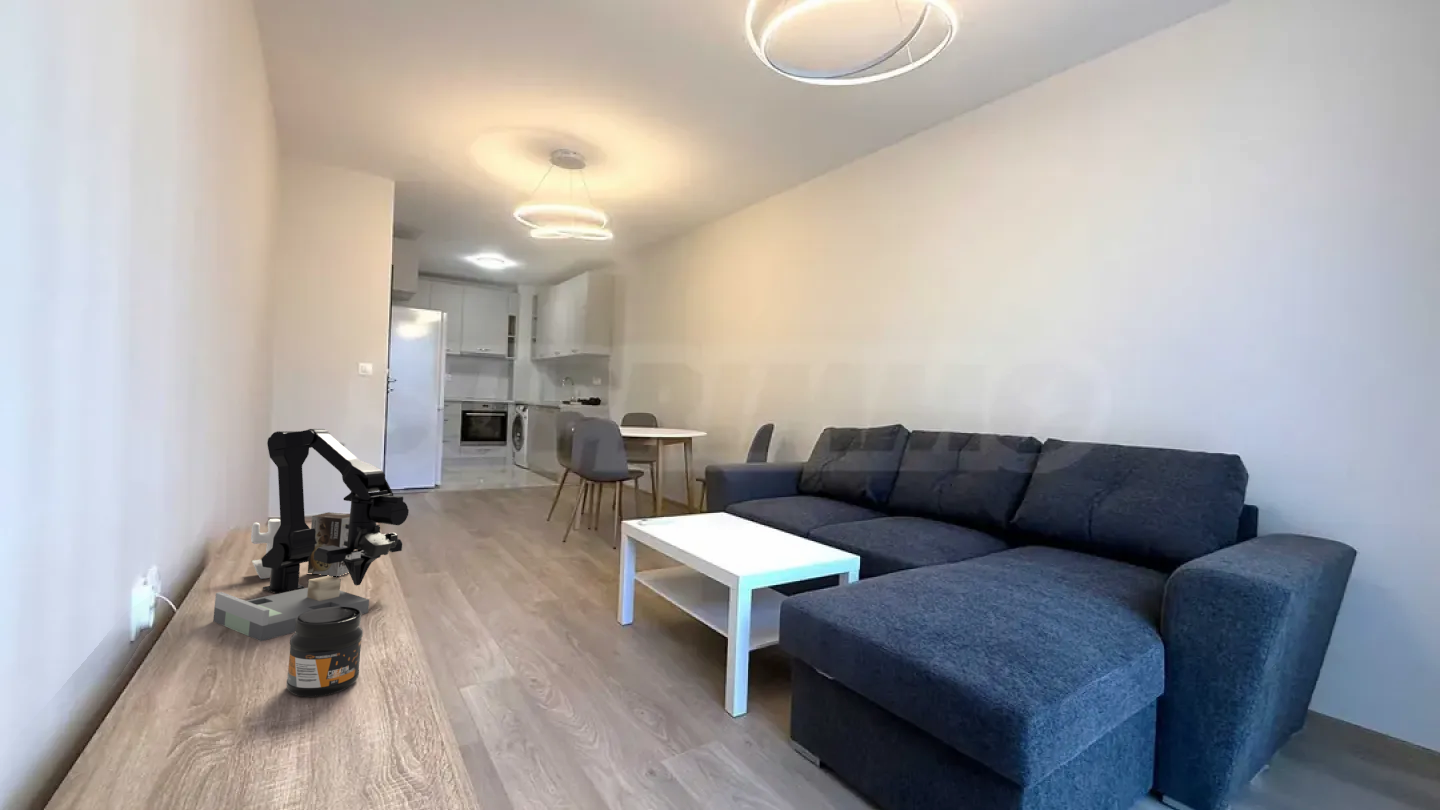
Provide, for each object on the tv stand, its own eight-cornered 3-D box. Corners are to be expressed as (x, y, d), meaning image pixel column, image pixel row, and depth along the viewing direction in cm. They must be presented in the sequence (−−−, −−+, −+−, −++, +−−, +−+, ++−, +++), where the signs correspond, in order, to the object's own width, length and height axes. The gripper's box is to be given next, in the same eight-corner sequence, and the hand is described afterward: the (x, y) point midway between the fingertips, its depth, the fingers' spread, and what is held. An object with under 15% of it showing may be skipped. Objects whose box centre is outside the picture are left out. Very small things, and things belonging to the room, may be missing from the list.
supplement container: (294, 705, 95) (301, 630, 96) (278, 682, 102) (285, 612, 103) (367, 687, 103) (373, 617, 103) (348, 666, 110) (353, 601, 110)
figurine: (293, 576, 160) (299, 520, 160) (249, 581, 153) (255, 523, 153) (288, 570, 165) (293, 515, 165) (244, 574, 158) (250, 518, 158)
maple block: (307, 597, 136) (308, 579, 136) (327, 592, 140) (328, 575, 140) (319, 601, 134) (320, 583, 134) (339, 596, 138) (340, 579, 138)
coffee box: (353, 571, 168) (358, 514, 168) (336, 577, 162) (342, 518, 162) (323, 568, 169) (328, 511, 169) (305, 574, 162) (311, 515, 163)
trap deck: (213, 621, 126) (215, 592, 126) (320, 596, 146) (323, 572, 146) (261, 641, 118) (263, 610, 118) (368, 612, 138) (370, 586, 138)
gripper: (345, 530, 133) (339, 601, 133) (419, 520, 150) (414, 583, 149) (315, 523, 138) (309, 591, 137) (390, 514, 155) (385, 574, 154)
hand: (357, 584), depth 144 cm, fingers closed
